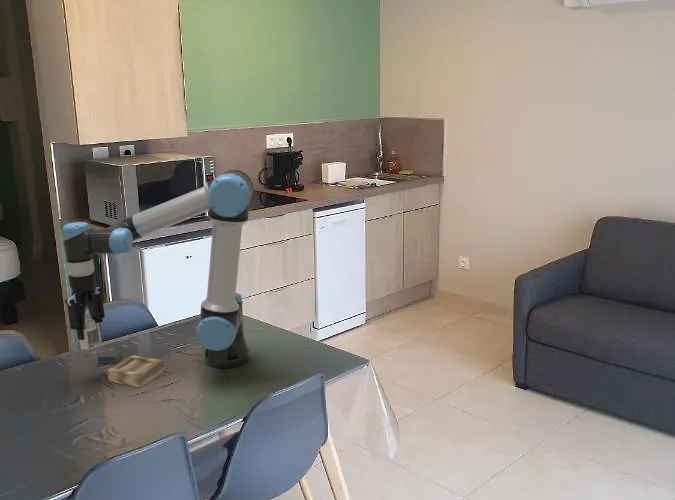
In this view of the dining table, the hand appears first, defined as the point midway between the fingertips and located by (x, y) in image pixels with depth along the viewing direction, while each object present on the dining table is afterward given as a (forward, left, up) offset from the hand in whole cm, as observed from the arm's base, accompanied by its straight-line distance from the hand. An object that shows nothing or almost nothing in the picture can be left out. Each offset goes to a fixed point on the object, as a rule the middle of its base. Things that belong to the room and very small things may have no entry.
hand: (91, 345), depth 200 cm
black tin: (+5, -13, -12) cm, 18 cm away
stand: (-12, -6, -11) cm, 17 cm away
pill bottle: (0, 0, -1) cm, 1 cm away
